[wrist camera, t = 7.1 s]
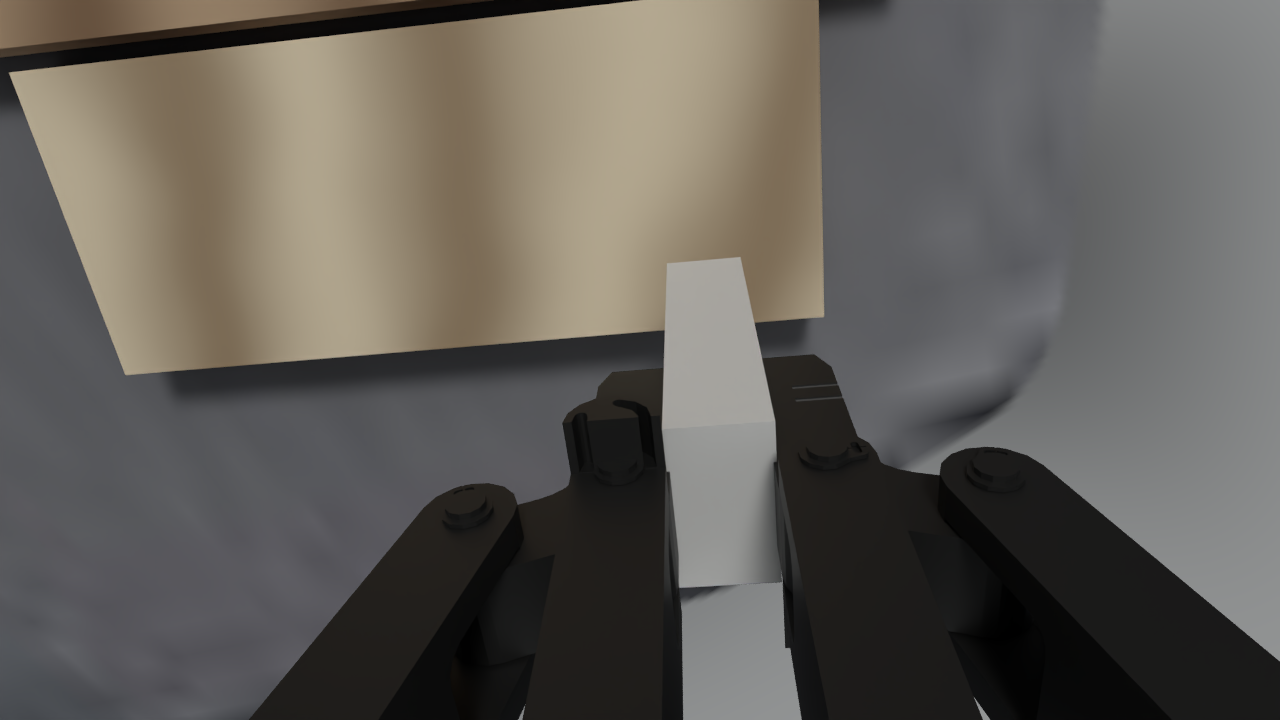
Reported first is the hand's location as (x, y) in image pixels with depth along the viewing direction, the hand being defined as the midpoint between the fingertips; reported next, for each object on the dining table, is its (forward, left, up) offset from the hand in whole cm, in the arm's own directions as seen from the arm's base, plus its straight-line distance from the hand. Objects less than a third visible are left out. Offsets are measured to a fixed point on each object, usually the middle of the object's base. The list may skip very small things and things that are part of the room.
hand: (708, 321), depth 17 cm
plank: (-6, +2, -5) cm, 8 cm away
